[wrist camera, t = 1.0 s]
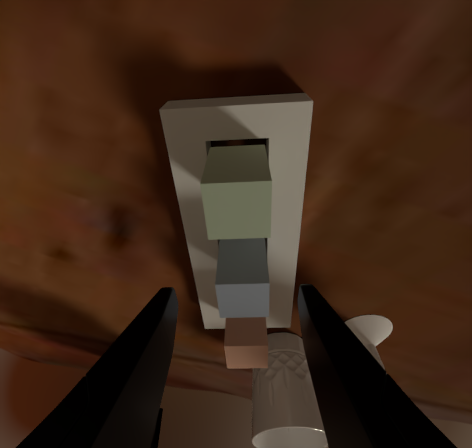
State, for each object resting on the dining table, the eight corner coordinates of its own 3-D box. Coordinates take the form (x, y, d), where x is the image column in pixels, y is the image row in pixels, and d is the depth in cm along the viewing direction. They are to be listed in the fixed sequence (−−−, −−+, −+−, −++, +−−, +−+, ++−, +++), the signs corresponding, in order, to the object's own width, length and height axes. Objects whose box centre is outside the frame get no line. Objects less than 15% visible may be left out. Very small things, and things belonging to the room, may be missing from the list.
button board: (207, 309, 31) (204, 328, 29) (168, 100, 18) (159, 109, 16) (287, 307, 30) (290, 327, 28) (304, 93, 18) (313, 100, 15)
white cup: (236, 345, 35) (235, 440, 27) (285, 320, 32) (300, 420, 24) (275, 368, 38) (284, 459, 30) (322, 347, 35) (347, 443, 27)
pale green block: (215, 194, 19) (208, 239, 15) (210, 147, 17) (199, 183, 13) (264, 192, 19) (270, 237, 15) (264, 144, 17) (272, 180, 13)
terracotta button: (229, 317, 27) (227, 368, 23) (227, 295, 25) (224, 346, 21) (263, 316, 27) (267, 367, 23) (263, 294, 25) (268, 345, 21)
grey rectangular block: (223, 267, 23) (219, 317, 19) (220, 235, 21) (215, 284, 17) (263, 265, 23) (268, 316, 19) (264, 233, 21) (269, 283, 17)
